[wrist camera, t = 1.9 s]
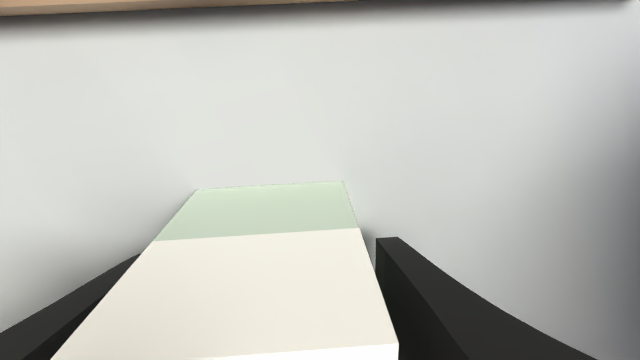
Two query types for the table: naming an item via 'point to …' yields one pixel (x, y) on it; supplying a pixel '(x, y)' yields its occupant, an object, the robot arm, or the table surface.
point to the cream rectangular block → (246, 284)
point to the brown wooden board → (122, 5)
